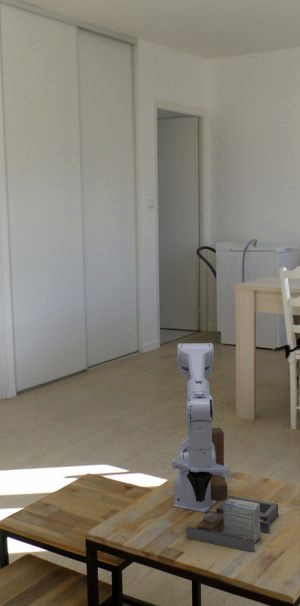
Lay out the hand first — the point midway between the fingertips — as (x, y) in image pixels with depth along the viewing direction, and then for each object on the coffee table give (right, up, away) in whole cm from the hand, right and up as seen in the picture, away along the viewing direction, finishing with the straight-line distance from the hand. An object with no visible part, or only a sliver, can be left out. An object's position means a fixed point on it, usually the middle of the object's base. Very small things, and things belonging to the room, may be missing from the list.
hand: (200, 500), depth 184 cm
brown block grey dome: (+3, -8, +2) cm, 9 cm away
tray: (+13, -7, +10) cm, 18 cm away
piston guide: (+7, -8, 0) cm, 11 cm away
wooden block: (+6, -5, +26) cm, 27 cm away
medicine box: (+10, -9, -2) cm, 13 cm away
